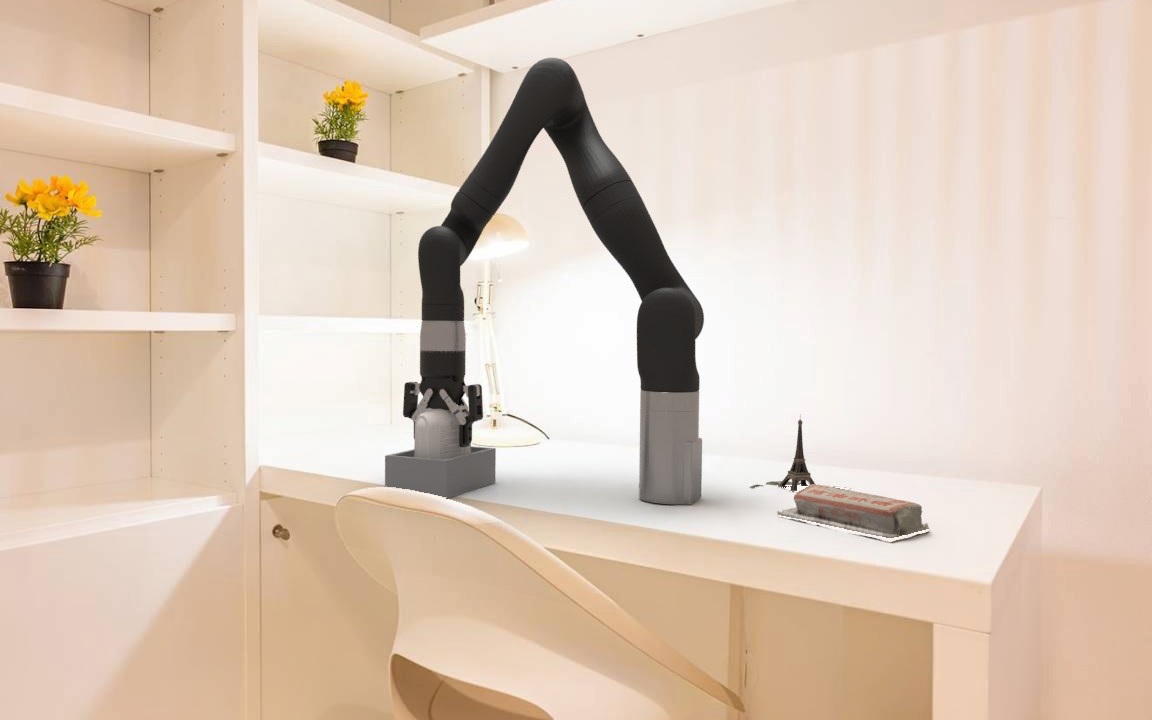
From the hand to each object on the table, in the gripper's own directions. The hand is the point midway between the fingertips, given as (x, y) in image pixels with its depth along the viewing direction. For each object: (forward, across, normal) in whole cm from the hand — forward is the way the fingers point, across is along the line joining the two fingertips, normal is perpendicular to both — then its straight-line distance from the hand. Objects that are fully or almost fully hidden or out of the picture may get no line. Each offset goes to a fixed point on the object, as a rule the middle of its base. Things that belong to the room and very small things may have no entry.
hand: (442, 445), depth 135 cm
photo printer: (+6, 0, 0) cm, 6 cm away
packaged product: (+8, -65, -4) cm, 65 cm away
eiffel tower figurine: (+8, -55, -27) cm, 62 cm away
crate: (+7, 0, 0) cm, 7 cm away
